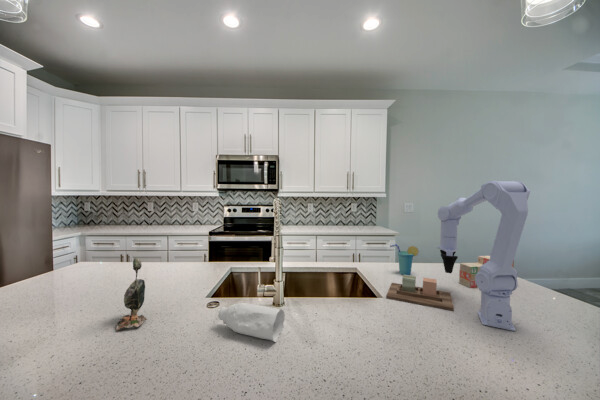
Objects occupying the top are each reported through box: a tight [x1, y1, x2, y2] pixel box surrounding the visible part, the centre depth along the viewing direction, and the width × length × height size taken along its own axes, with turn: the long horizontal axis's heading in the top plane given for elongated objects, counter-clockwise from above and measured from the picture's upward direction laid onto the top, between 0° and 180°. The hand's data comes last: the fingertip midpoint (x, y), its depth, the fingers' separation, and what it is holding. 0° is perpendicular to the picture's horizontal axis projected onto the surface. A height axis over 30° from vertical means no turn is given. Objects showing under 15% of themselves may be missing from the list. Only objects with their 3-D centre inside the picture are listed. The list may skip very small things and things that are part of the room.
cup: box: [389, 243, 420, 276], centre depth 125 cm, size 14×8×15 cm, turn 94°
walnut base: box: [385, 275, 455, 312], centre depth 98 cm, size 16×22×7 cm
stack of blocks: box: [458, 255, 515, 289], centre depth 112 cm, size 21×6×12 cm, turn 99°
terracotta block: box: [422, 276, 438, 297], centre depth 96 cm, size 4×4×6 cm
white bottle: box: [217, 302, 286, 343], centre depth 71 cm, size 8×19×8 cm, turn 69°
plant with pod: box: [115, 257, 147, 331], centre depth 75 cm, size 8×11×20 cm
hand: (447, 270), depth 101 cm, fingers open, 7 cm apart
